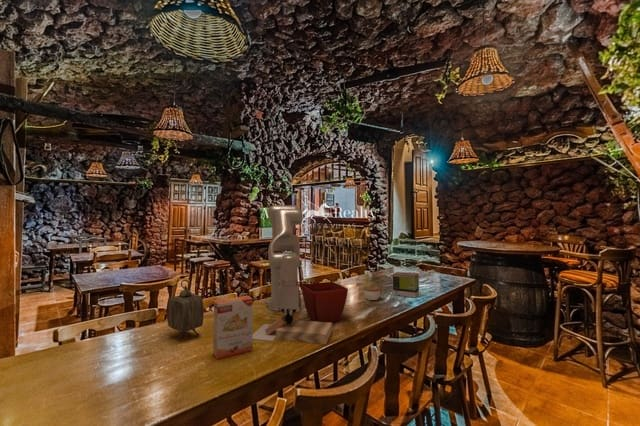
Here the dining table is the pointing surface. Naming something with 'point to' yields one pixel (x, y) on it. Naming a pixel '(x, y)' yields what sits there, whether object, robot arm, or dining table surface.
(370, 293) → the lidded jar
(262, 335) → the mat
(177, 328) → the tabletop clock
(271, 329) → the block
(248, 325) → the cracker box
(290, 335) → the board
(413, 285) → the tea box
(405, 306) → the dining table surface
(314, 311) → the plant pot
